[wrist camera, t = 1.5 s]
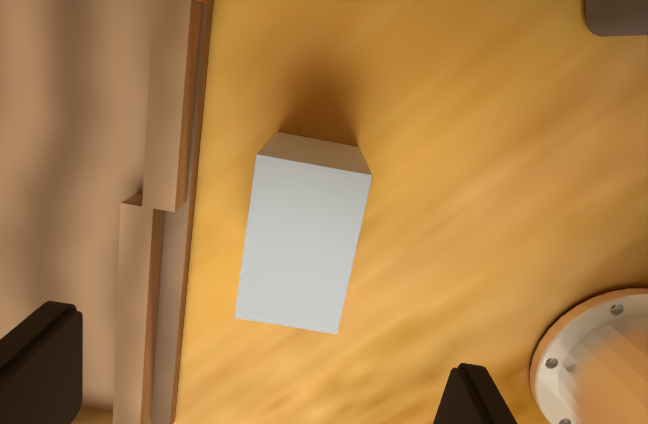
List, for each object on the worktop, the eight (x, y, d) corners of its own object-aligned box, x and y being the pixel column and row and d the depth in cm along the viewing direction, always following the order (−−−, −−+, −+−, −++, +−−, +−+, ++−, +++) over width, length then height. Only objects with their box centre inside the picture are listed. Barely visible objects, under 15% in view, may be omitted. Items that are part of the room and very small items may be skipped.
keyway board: (214, -11, 23) (190, -30, 19) (174, 420, 32) (153, 469, 28) (-89, -73, 22) (-182, -106, 18) (-41, 388, 31) (-96, 434, 27)
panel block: (358, 146, 25) (372, 175, 18) (333, 264, 28) (336, 334, 20) (277, 131, 25) (256, 154, 18) (259, 251, 28) (234, 317, 20)
